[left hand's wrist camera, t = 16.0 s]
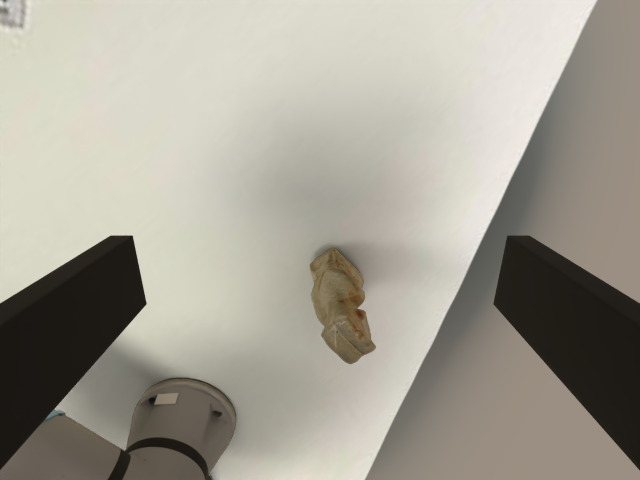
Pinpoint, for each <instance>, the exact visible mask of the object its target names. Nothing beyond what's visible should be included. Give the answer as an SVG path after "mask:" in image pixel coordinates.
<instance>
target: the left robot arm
mask: <svg viewBox="0 0 640 480" xmlns="http://www.w3.org/2000/svg"><path fill="white" fill-rule="evenodd" d="M145 305H146V299H145V294H144V289H143V284H142V279H141V274H140V269H139V265H138V260H137V255H136V250H135V245H134V240H133V236H109V237H108V238H106V239H104V240H103V241H101V242H100V243H98V244H96V245H95V246H93V247H91V248H90V249H88V250H87V251H85V252H83V253H82V254H80V255H78V256H77V257H75V258H74V259H72V260H70V261H69V262H67V263H65V264H64V265H62V266H61V267H59V268H57V269H56V270H54V271H52V272H51V273H49V274H48V275H46V276H44V277H43V278H41V279H39V280H38V281H36V282H34V283H33V284H31V285H30V286H28V287H26V288H25V289H23V290H21V291H20V292H18V293H17V294H15V295H13V296H12V297H10V298H8V299H7V300H5V301H4V302H2V303H0V480H211V478H210V477H209V473H210V471H211V470H212V468H213V467H214V465H215V464H216V462H217V461H218V459H219V458H220V456H221V455H222V454H223V452H224V451H225V449H226V448H227V446H228V444H229V443H230V441H231V439H232V436H233V432H234V429H235V424H236V415H235V411H234V408H233V406H232V405H231V403H230V401H229V400H228V399H227V398H226V397H225V396H224V395H223V394H222V393H221V392H220V391H218V390H217V389H215V388H214V387H212V386H210V385H208V384H206V383H203V382H200V381H196V380H192V379H170V380H165V381H162V382H159V383H157V384H155V385H153V386H152V387H150V388H149V389H148V390H147V391H146V392H145V393H144V394H143V396H142V397H141V399H140V401H139V402H138V404H137V406H136V408H135V411H134V414H133V418H132V422H131V427H130V432H129V437H128V442H127V447H126V450H125V451H124V450H122V449H120V448H119V447H117V446H115V445H114V444H112V443H110V442H109V441H107V440H106V439H104V438H102V437H101V436H99V435H97V434H96V433H94V432H92V431H91V430H89V429H87V428H86V427H84V426H82V425H81V424H79V423H77V422H76V421H74V420H72V419H71V418H69V417H68V416H66V415H65V413H64V412H63V411H56V410H54V409H55V407H56V406H57V405H58V404H59V403H60V402H61V401H62V400H63V398H64V397H65V396H66V395H67V394H68V393H69V392H70V390H71V389H72V388H73V387H74V386H75V385H76V384H77V382H78V381H79V380H80V379H81V378H82V377H83V376H84V375H85V373H86V372H87V371H88V370H89V369H90V368H91V367H92V365H93V364H94V363H95V362H96V361H97V360H98V359H99V358H100V356H101V355H102V354H103V353H104V352H105V351H106V350H107V348H108V347H109V346H110V345H111V344H112V343H113V342H114V340H115V339H116V338H117V337H118V336H119V335H120V334H121V333H122V331H123V330H124V329H125V328H126V327H127V326H128V325H129V323H130V322H131V321H132V320H133V319H134V318H135V317H136V315H137V314H138V313H139V312H140V311H141V310H142V309H143V308H144V306H145ZM494 305H495V306H496V308H497V309H498V310H499V311H500V312H501V313H502V314H503V315H504V317H505V318H506V319H507V320H508V321H509V322H510V323H511V325H512V326H513V327H514V328H515V329H516V330H517V331H518V332H519V334H520V335H521V336H522V337H523V338H524V339H525V340H526V342H527V343H528V344H529V345H530V346H531V347H532V348H533V350H534V351H535V352H536V353H537V354H538V355H539V356H540V358H541V359H542V360H543V361H544V362H545V363H546V364H547V365H548V367H549V368H550V369H551V370H552V371H553V372H554V373H555V375H556V376H557V377H558V378H559V379H560V380H561V381H562V382H563V384H564V385H565V386H566V387H567V388H568V389H569V390H570V391H571V393H572V394H573V395H574V396H575V397H576V398H577V400H578V401H579V402H580V403H581V404H582V405H583V406H584V407H585V409H586V410H587V411H588V412H589V413H590V414H591V415H592V416H593V418H594V419H595V420H596V421H597V422H598V423H599V425H600V426H601V427H602V428H603V429H604V430H605V431H606V432H607V434H608V435H609V436H610V437H611V438H612V439H613V440H614V442H615V443H616V444H617V445H618V446H619V447H620V448H621V449H622V451H623V452H624V453H625V454H626V455H627V456H628V457H629V459H630V460H631V461H632V462H633V463H634V464H635V465H636V467H637V468H638V469H639V470H640V303H638V302H636V301H635V300H633V299H631V298H630V297H628V296H627V295H625V294H623V293H622V292H620V291H619V290H617V289H615V288H614V287H612V286H610V285H609V284H607V283H605V282H604V281H602V280H601V279H599V278H597V277H596V276H594V275H592V274H591V273H589V272H588V271H586V270H584V269H583V268H581V267H579V266H578V265H576V264H575V263H573V262H571V261H570V260H568V259H566V258H565V257H563V256H562V255H560V254H558V253H557V252H555V251H553V250H552V249H550V248H549V247H547V246H545V245H544V244H542V243H540V242H539V241H537V240H536V239H534V238H532V237H531V236H507V240H506V245H505V250H504V255H503V260H502V265H501V269H500V274H499V279H498V284H497V289H496V294H495V299H494Z"/></svg>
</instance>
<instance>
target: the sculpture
mask: <svg viewBox="0 0 640 480" xmlns="http://www.w3.org/2000/svg"><path fill="white" fill-rule="evenodd" d="M310 269H311V273H312V276H313V279H314V282H315V284H314V287H313V290H312V293H311V298H312V301H313V305H314V308H315V311H316V314H317V317H318V319H319V321H320V322H321V323H322V324H323V325H325V328H324V329H323V331H322V333H321V336H322V337H323V339H324V341H325V342H326V344H327V345H328V346H329V347H330V348H331V349H332V350H333V351H334V352H335V353H336V354H337V355H338V356H339V357H340V358H341V359H342V360H343V361H345V362H346V363H348V364H352V363H355V362H357V361H358V360H359V359H360V357H362V356H363V355H365V354H368V353H370V352H372V351H373V350H375V348H376V346H375V345H374V343H373V342H372V341H371V334H370V329H369V325H368V322H367V317H366V312H365V311H364V310H360V309H357V308H358V307H359V306H360V305H361V304H362V303H363V301H364V299H365V293H364V292H363V290H362V289H361V288H362V286H363V283H364V281H363V278H362V276H361V274H360V272H359V271H358V270H357V269H356V268H355V267H354V266H353V265H352V264H351V263H350V262H349V261H347V260H346V259H345V258H344V257H343V256H342V255H341V254H340V253H339V252H338V250H337V249H335V248H331V249H329V250H328V251H326V253H324V254H323V255H321V256H319V257H318V258H316V259H315V260H314V261H313V262H312V263H311V264H310Z"/></svg>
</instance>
